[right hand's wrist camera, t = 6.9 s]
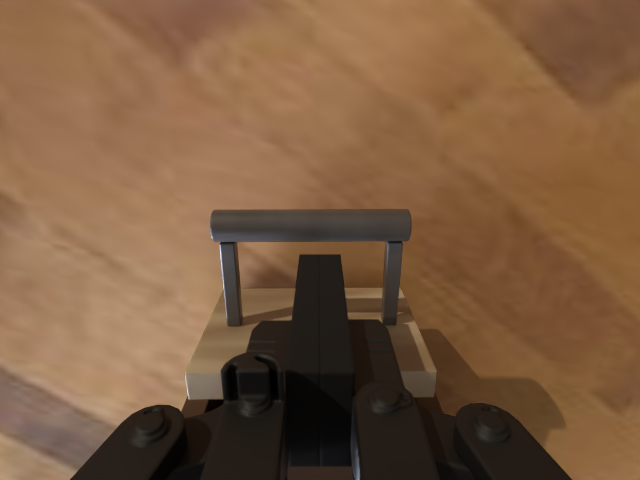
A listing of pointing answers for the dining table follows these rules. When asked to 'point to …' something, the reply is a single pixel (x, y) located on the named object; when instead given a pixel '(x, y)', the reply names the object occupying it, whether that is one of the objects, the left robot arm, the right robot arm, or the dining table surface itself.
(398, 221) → the drawer
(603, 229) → the dining table surface
